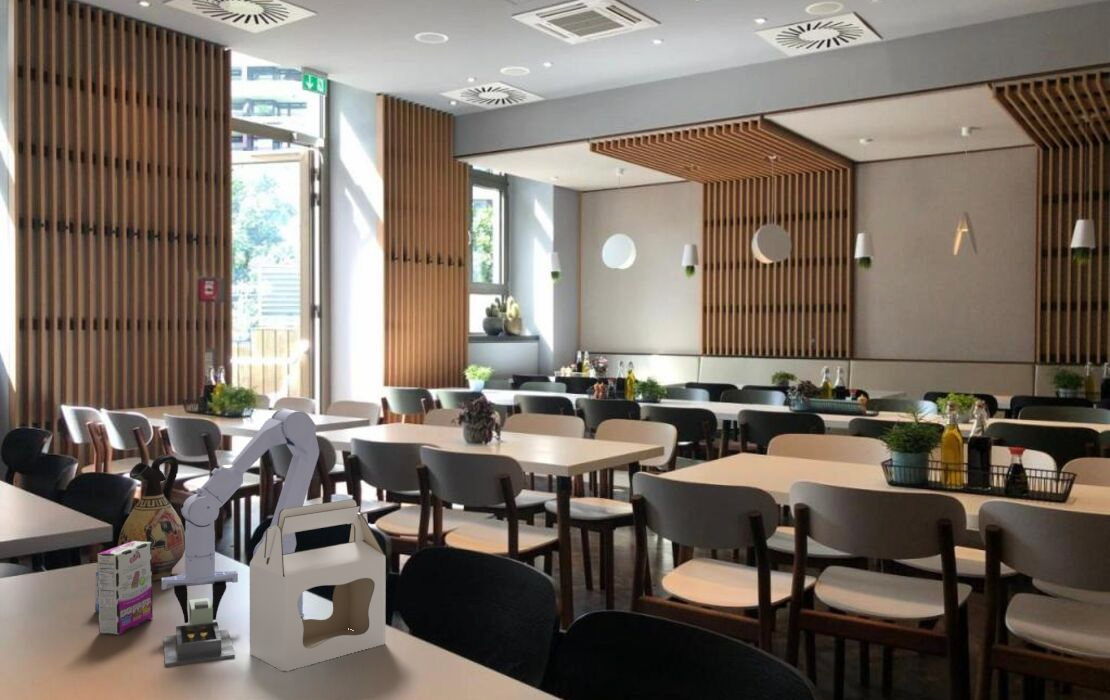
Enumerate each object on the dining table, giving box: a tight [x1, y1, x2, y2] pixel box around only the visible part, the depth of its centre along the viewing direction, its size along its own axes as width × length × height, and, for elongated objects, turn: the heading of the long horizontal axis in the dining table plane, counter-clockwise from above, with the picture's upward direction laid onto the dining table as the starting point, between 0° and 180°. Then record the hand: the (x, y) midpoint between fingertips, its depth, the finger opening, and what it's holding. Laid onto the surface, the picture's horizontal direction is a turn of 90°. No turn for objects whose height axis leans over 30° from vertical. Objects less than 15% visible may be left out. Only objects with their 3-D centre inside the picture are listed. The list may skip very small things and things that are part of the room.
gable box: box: [249, 499, 387, 673], centre depth 179 cm, size 22×13×28 cm, turn 135°
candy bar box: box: [96, 541, 154, 636], centre depth 192 cm, size 11×5×16 cm, turn 168°
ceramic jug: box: [117, 454, 185, 581], centre depth 231 cm, size 17×15×30 cm
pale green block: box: [188, 597, 214, 625], centre depth 192 cm, size 4×8×6 cm, turn 25°
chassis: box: [163, 621, 236, 668], centre depth 179 cm, size 12×16×3 cm
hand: (200, 620), depth 192 cm, fingers open, 5 cm apart
